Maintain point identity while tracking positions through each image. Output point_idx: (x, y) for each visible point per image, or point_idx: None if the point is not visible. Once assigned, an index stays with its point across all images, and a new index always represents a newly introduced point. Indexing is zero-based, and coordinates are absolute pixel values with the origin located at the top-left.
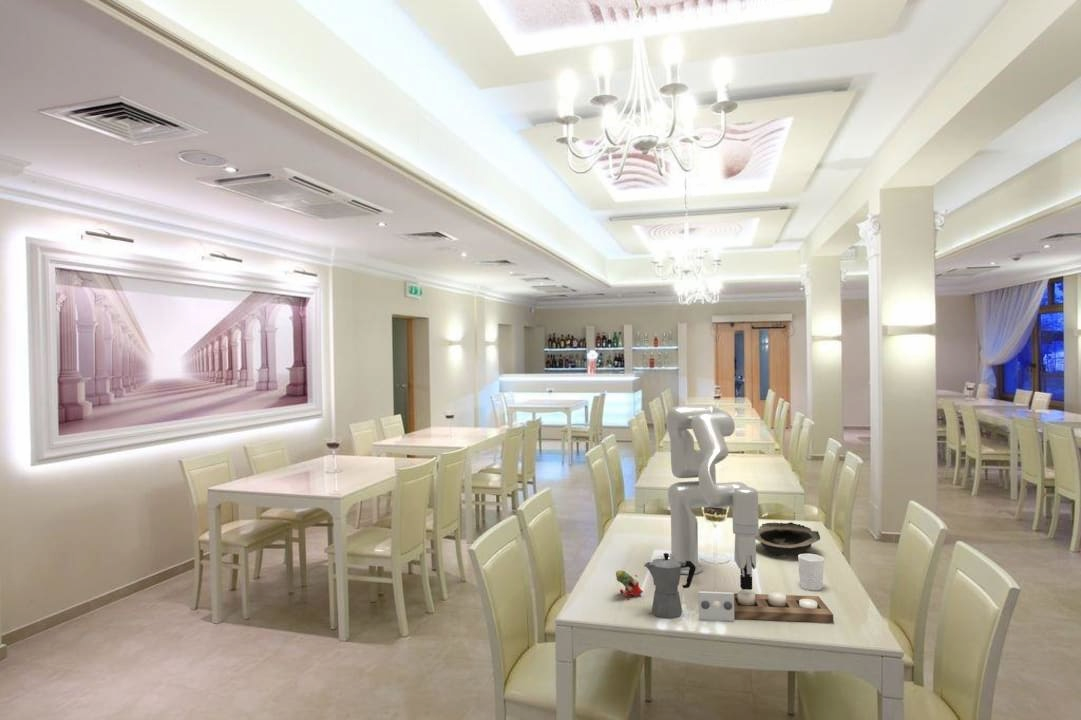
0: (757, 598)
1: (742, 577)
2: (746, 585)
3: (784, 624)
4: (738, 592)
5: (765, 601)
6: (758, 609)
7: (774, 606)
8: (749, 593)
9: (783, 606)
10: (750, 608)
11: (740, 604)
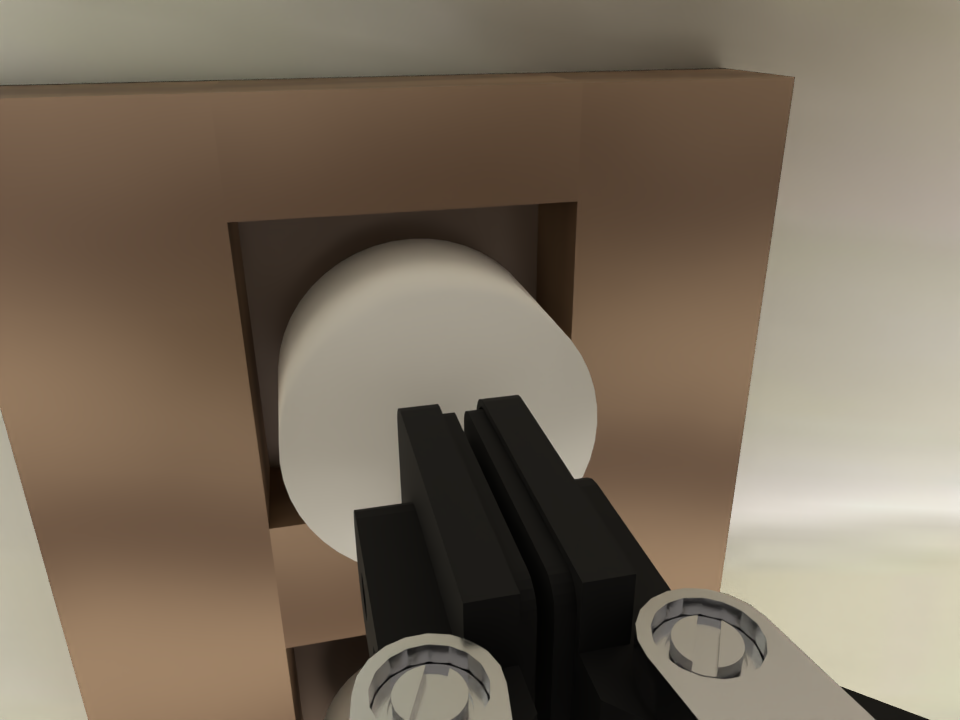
0: None
1: (453, 610)
2: (361, 565)
3: (26, 711)
4: (466, 305)
5: None
6: (132, 523)
7: None
8: None
9: None
10: (141, 415)
11: (541, 266)
